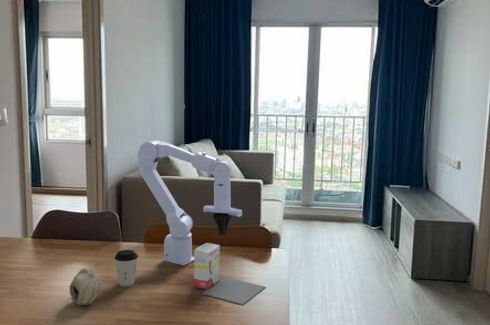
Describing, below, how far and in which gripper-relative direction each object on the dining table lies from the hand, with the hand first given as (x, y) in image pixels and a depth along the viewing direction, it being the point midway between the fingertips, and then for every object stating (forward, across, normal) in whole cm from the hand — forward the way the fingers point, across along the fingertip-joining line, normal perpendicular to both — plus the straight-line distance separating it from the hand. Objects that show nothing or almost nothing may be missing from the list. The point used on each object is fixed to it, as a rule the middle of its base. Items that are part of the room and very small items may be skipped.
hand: (222, 234), depth 159 cm
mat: (+11, +15, -18) cm, 26 cm away
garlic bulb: (+10, -16, -47) cm, 50 cm away
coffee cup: (+10, -16, -31) cm, 36 cm away
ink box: (+11, +5, -18) cm, 22 cm away
